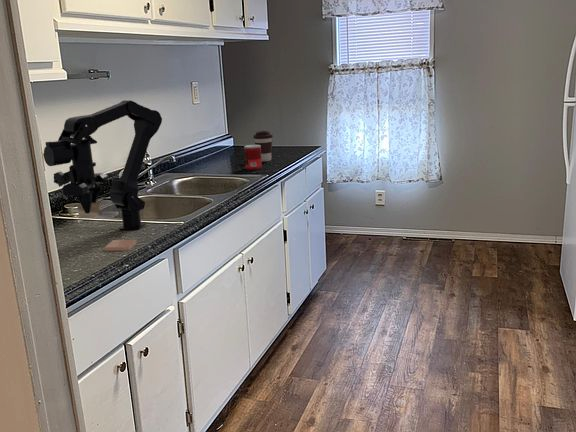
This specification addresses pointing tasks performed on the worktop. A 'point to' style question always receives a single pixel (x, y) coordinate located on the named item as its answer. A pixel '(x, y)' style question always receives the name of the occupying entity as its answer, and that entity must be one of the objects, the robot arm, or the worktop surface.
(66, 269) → the worktop surface
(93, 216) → the turner
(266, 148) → the coffee cup
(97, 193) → the robot arm
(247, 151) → the canned food
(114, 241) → the tile
